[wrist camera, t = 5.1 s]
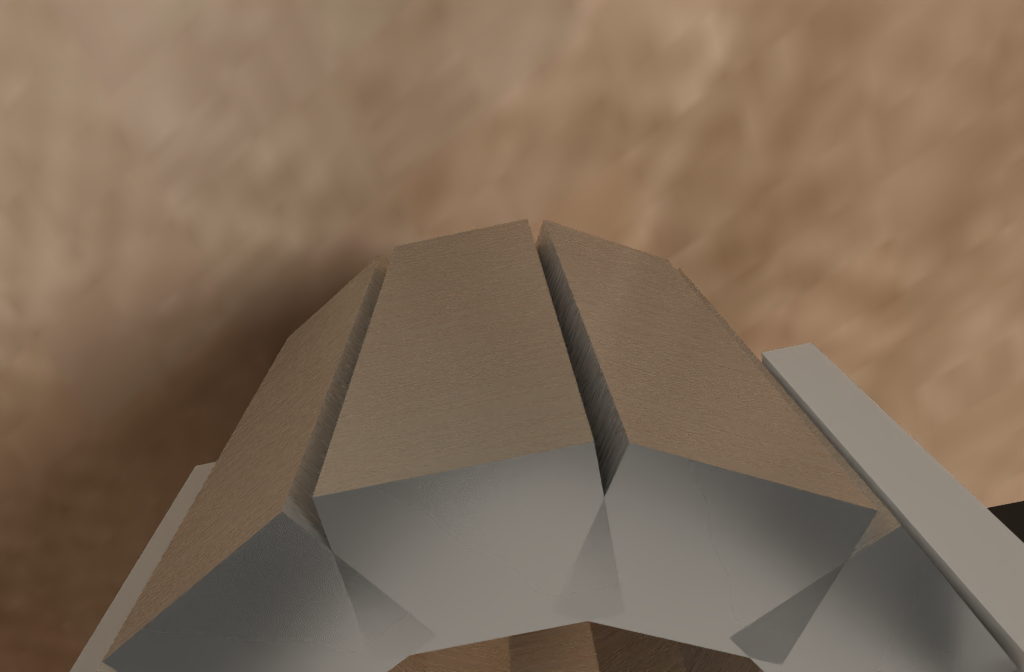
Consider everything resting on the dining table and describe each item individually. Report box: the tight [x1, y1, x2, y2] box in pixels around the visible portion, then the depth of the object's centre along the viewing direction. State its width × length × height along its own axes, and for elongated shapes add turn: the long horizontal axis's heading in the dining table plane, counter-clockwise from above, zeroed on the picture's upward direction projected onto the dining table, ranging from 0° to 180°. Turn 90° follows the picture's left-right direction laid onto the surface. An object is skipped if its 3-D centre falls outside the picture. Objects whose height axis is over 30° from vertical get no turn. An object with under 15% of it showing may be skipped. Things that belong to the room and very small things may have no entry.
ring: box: [96, 219, 1018, 672], centre depth 9 cm, size 8×8×6 cm
